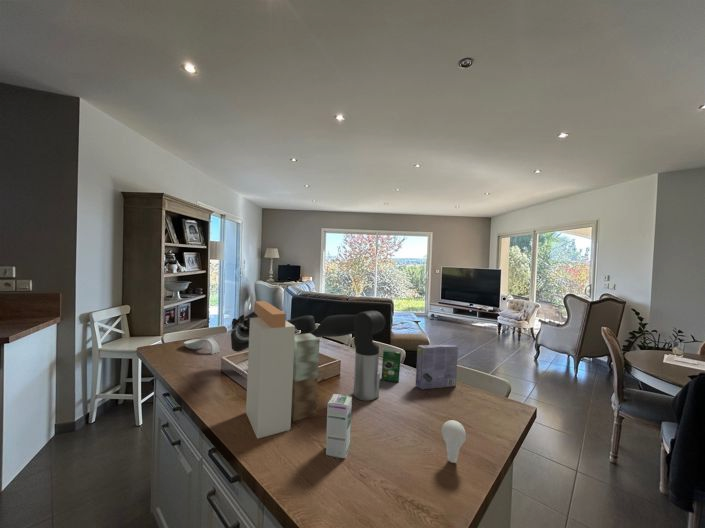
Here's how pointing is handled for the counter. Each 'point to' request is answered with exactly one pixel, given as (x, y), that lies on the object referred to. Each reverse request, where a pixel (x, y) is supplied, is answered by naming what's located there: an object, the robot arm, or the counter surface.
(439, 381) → the cake pan box
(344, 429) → the syrup box
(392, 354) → the coffee box
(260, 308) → the bar
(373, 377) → the robot arm
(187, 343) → the spoon rest
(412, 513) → the counter surface
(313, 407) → the tower
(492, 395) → the counter surface
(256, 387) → the stand
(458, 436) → the lightbulb
